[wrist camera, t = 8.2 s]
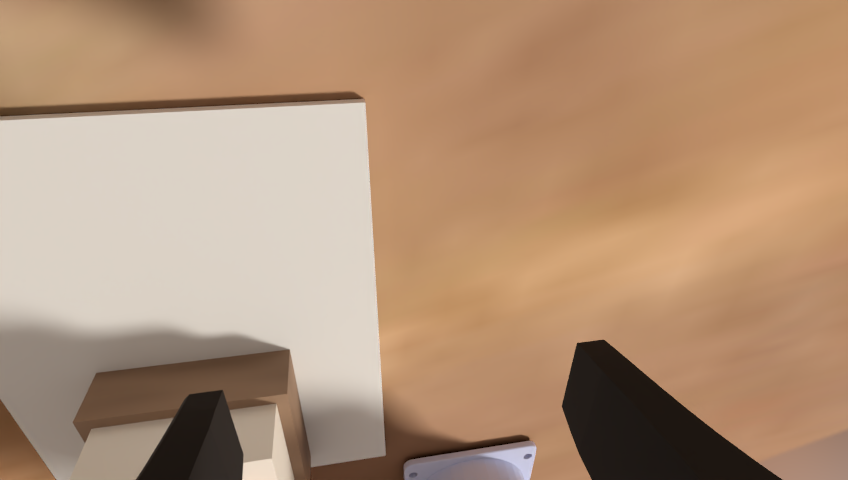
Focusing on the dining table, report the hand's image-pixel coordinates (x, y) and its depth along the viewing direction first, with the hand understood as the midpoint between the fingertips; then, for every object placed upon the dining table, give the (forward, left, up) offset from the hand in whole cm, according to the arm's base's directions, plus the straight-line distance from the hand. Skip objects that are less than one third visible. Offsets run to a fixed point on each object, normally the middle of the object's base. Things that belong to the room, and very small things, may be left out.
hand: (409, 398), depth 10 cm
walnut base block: (-12, +8, -10) cm, 18 cm away
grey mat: (-7, +8, -10) cm, 15 cm away
